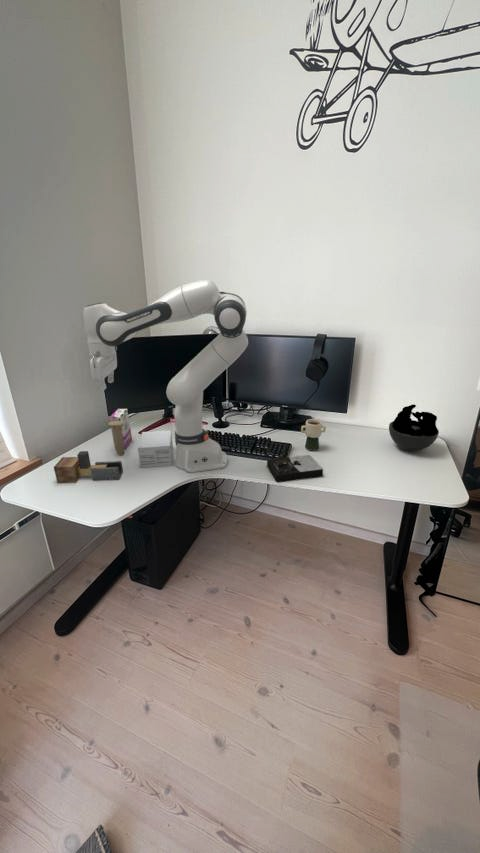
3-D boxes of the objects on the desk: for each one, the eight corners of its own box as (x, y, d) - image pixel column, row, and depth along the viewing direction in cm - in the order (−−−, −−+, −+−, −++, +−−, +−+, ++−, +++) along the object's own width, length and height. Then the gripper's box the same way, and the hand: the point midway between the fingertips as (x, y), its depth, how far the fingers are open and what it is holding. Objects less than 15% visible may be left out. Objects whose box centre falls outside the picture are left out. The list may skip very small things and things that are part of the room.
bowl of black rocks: (428, 463, 147) (438, 421, 139) (380, 450, 158) (386, 411, 151) (438, 446, 161) (447, 407, 154) (392, 435, 173) (399, 399, 165)
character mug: (322, 444, 164) (324, 418, 159) (325, 451, 157) (328, 424, 152) (298, 445, 164) (300, 419, 159) (301, 452, 157) (302, 425, 152)
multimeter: (266, 467, 146) (266, 456, 144) (309, 461, 150) (310, 451, 148) (276, 483, 134) (276, 472, 132) (323, 477, 138) (324, 466, 136)
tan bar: (108, 471, 140) (105, 450, 136) (106, 475, 137) (102, 454, 134) (67, 472, 139) (62, 451, 136) (64, 476, 137) (59, 455, 133)
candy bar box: (122, 440, 170) (117, 408, 164) (132, 440, 170) (128, 408, 164) (114, 450, 160) (108, 417, 153) (125, 450, 160) (120, 417, 153)
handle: (125, 456, 154) (121, 425, 148) (111, 456, 155) (106, 425, 149) (129, 451, 159) (125, 421, 153) (115, 451, 159) (110, 420, 153)
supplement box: (172, 466, 147) (170, 445, 143) (139, 468, 145) (137, 448, 141) (173, 448, 162) (171, 429, 159) (144, 450, 161) (141, 431, 157)
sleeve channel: (123, 472, 142) (121, 461, 140) (119, 479, 137) (117, 468, 135) (97, 472, 142) (95, 461, 140) (92, 480, 136) (90, 469, 134)
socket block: (83, 472, 142) (80, 456, 140) (76, 482, 135) (72, 466, 132) (65, 472, 142) (62, 457, 139) (57, 483, 135) (53, 467, 132)
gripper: (101, 355, 120) (107, 393, 126) (117, 344, 139) (122, 378, 145) (82, 355, 120) (89, 394, 125) (101, 344, 139) (106, 379, 144)
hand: (107, 385), depth 135 cm, fingers open, 8 cm apart
